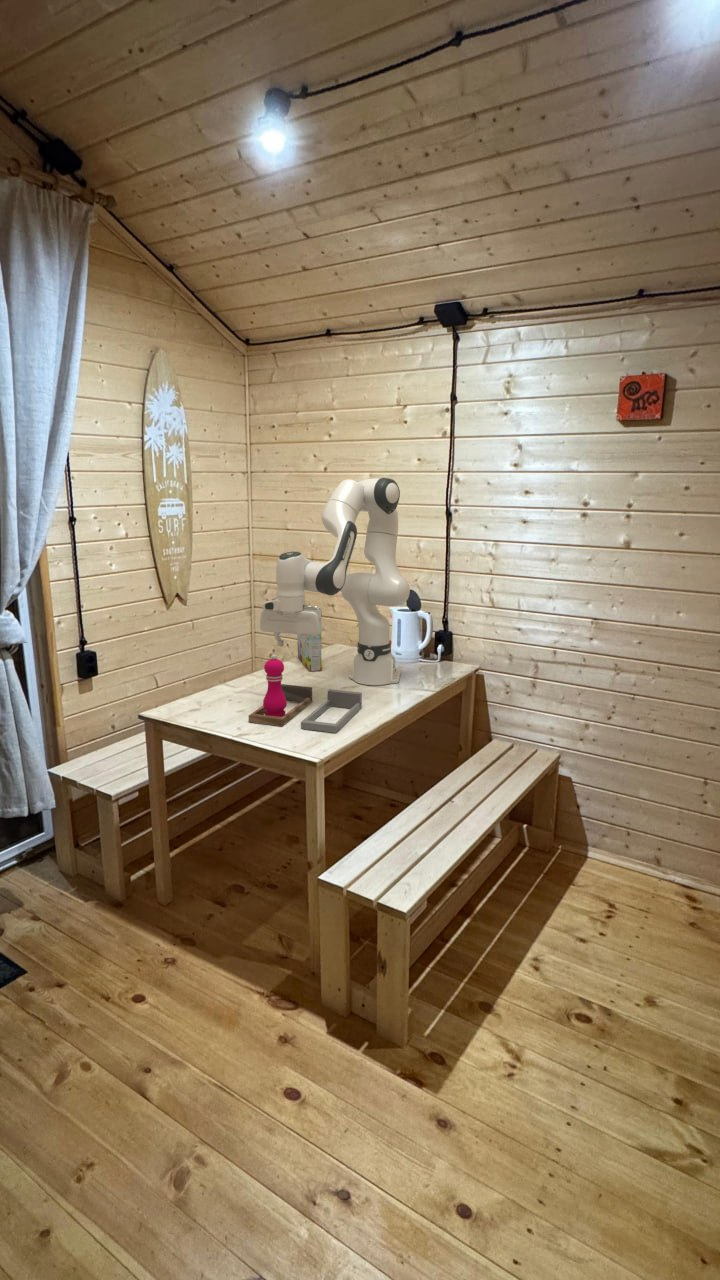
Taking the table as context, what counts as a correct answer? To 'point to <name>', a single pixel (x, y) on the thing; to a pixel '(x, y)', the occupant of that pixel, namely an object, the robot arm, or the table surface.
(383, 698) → the table surface
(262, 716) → the brown wooden rectangular frame
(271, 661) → the pepper mill
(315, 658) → the snack box
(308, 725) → the grey open rectangular frame
